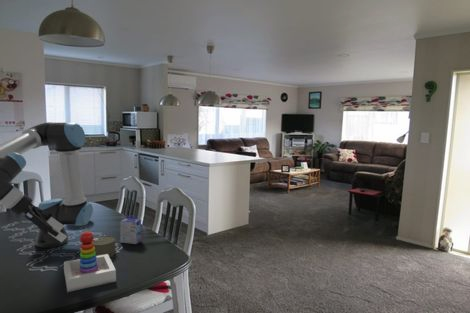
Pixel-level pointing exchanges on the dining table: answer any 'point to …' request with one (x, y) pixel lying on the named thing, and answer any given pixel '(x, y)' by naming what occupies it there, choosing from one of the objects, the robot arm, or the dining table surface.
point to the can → (104, 245)
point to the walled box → (89, 274)
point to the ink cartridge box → (130, 230)
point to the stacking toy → (87, 254)
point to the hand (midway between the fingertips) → (63, 233)
